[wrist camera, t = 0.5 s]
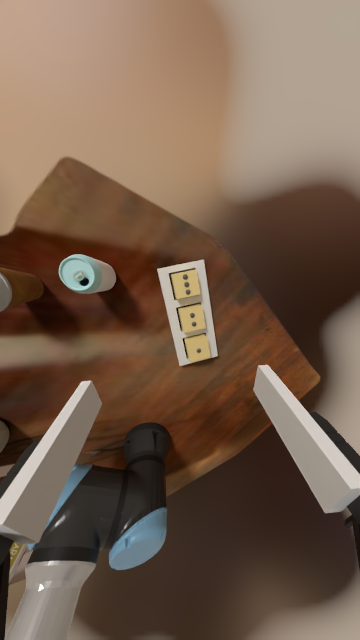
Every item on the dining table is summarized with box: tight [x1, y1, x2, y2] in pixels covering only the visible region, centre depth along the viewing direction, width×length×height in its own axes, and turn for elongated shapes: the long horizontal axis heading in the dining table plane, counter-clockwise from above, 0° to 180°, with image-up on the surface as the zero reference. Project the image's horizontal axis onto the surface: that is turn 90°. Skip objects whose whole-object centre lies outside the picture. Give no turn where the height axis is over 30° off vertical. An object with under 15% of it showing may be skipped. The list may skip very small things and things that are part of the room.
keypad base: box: [157, 260, 218, 366], centre depth 42 cm, size 28×12×2 cm, turn 12°
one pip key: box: [184, 334, 211, 363], centre depth 42 cm, size 6×6×4 cm
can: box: [59, 254, 116, 294], centre depth 31 cm, size 7×7×12 cm
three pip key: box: [171, 269, 200, 299], centre depth 37 cm, size 6×6×4 cm
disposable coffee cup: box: [0, 267, 44, 312], centre depth 30 cm, size 10×10×12 cm
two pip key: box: [178, 304, 206, 333], centre depth 39 cm, size 6×6×4 cm
